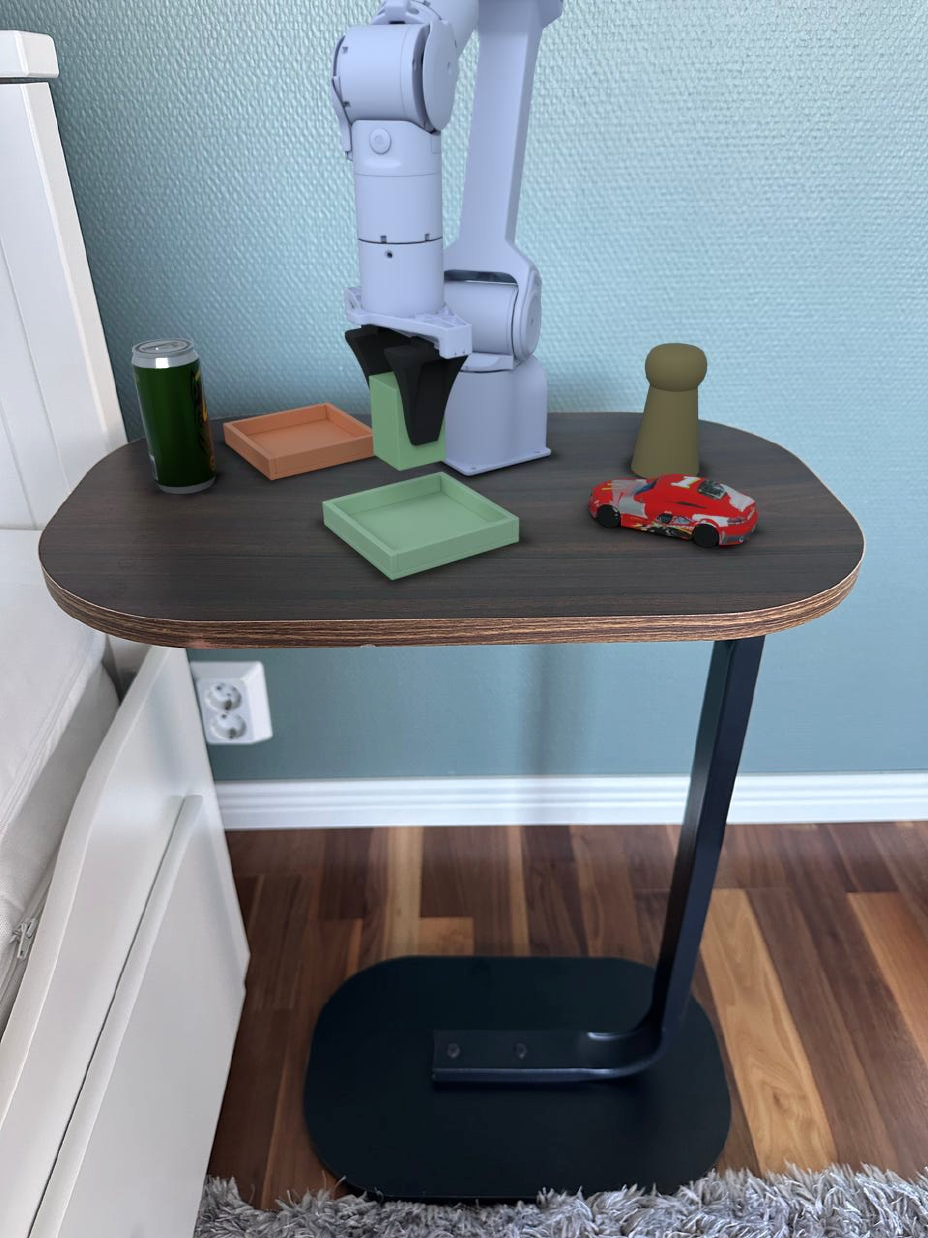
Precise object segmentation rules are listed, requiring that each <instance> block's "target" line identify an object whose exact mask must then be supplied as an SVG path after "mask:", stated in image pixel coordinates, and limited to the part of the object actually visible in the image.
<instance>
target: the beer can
mask: <svg viewBox="0 0 928 1238" xmlns="http://www.w3.org/2000/svg"><path fill="white" fill-rule="evenodd" d="M131 352H132V357H131V361H130V362H131V367H132V373H133V378H134V384H135V387H136V388H135V389H136V393H137V399H138V404H139V409H140V414H141V420H142V425H143V429H144V435H145V441H146V445H147V451H148V456H149V460H150V465H151V471H152V476H153V479H154V480H153V481H154V482H155V484H156V485H157V487H158V488H159V490H161V491H162V492H164V493H168V494H174V495H187V494H193V493H198V492H202V491H205V490H207V489H208V488H210V487H211V486H213V485H214V483H215V480H216V477H217V474H218V469H217V462H216V457H215V449H214V444H213V438H212V437H213V436H212V430H211V425H210V417H209V412H208V411H209V410H208V405H207V404H208V403H207V399H206V393H205V386H204V380H203V373H202V367H201V366H202V365H201V361H200V355H199V354H198V352H197V351H196V349H195V343H194V342H193V341H192V340H189V339H186V338H185V339H184V338H174V337H173V338H172V337H171V338H157V339H151V340H145V341H143V342H139V343H137V344H135V345H133V346H132V348H131Z"/></svg>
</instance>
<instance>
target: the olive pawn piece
mask: <svg viewBox="0 0 928 1238" xmlns="http://www.w3.org/2000/svg"><path fill="white" fill-rule="evenodd" d="M644 372H645V379H646V380H647V382H648V383H649V385H648V390H647V393H646V399H645V403H644V407H643V411H642V416H641V420H640V425H639V429H638V432H637V438H636V441H635V447H634V451H633V455H632V459H631V465H630V468H631V471H632V472H633V473H634V474H635V475H637V476H639V477H641V478H642V479H652V478H656V477H660V476H661V475H668V474H685V475H691V476H696V477H698V474H699V473H700V443H699V442H700V441H699V438H700V437H699V430H700V429H699V386H700V385H701V384H702V383H703V381H704V380H705V378H706V375H707V374H708V373H707V372H708V358H707V356H706V354H705V351H704V350H702V349H701V348H700V347H699V346H697V345H694V344H689V343H685V342H684V343H683V342H669V343H661V344H658V345H656V346H654V347H652V348H651V350H649V352H648V354H647V355H646V358H645V361H644Z"/></svg>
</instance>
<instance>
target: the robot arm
mask: <svg viewBox="0 0 928 1238" xmlns="http://www.w3.org/2000/svg"><path fill="white" fill-rule="evenodd" d="M564 2H565V0H383V1H382V3H380V6H379V7H378V9H377V11H376V12H375V14H374V15H373V17H372V19H370V22H369V23H368V24H354V25H352V26H350V28H349V29H348V30H347V32H346V33H345V34H343V35H341V36H339V37H338V39H337V41H336V42H335V44H334V47H333V50H332V55H331V67H330V77H329V79H328V81H329V90H330V97H331V102H332V105H333V108H334V109H333V110H334V112H335V115H336V117H337V121H338V123H339V126H340V130H341V138H342V139H341V141H342V151H343V152H344V156H345V159H346V160H347V161H350V162H351V163H352V174H353V176H352V177H353V191H354V209H355V223H356V225H355V226H356V237H357V253H358V254H357V255H358V267H359V268H358V269H359V283H360V285H355V286H354V285H353V286H348V287H343V298H344V313H345V315H346V319H347V321H348V322H350V323H352V324H353V325H357V326H360V327H358V328H357V327H356V328H352V329H351V328H350V329H348V330H346V331H344V340H345V342H346V343H347V345H348V347H349V348H350V349H351V351H352V352H353V354H354V357H355V358H356V360H357V362H358V364H359V366H360V368H361V371H362V374H363V376H364V378H365V381H366V384H367V387H368V390H369V392H370V385H369V376H373V375H378V374H383V373H388V372H393V373H394V375H395V378H396V380H397V384H398V387H399V390H400V394H401V399H402V404H403V412H404V419H405V425H406V430H407V434H408V437H409V440H410V443H411V444H412V445H414V446H418V445H422V444H426V443H430V442H435V441H438V439H439V435H440V431H441V427H442V423H443V418H444V414H445V437H446V460H442V461H441V462H442V463H444V464H446V465H447V466H448V467H451V468H452V469H454V470H456V471H458V472H459V473H461V474H463V475H464V476H466V477H467V476H468V477H470V476H475V475H478V474H483V473H486V472H490V471H493V470H497V469H502V468H506V467H509V466H513V465H518V464H521V463H525V462H528V461H533V460H536V459H540V458H545V457H548V456H551V454H552V449H550V448H549V447H548V446H547V430H548V401H549V385H548V379H547V374H546V370H545V368H544V366H543V364H542V362H541V361H540V360H539V358H538V357H537V356H535V354H534V353H535V351H536V349H537V348H538V347H537V346H538V345H539V344H538V343H539V339H540V335H541V329H542V316H543V315H542V313H543V312H542V289H543V280H542V277H541V273H540V270H539V268H538V267H537V265H536V264H535V262H534V261H533V260H531V258H530V257H528V256H527V255H526V254H525V253H524V252H523V251H522V250H521V249H520V248H519V247H518V246H517V245H516V244H515V240H516V233H517V223H518V215H519V206H520V198H521V191H522V190H521V189H522V183H523V182H522V181H523V172H524V165H525V164H524V163H525V156H526V149H527V148H526V147H527V137H528V131H529V122H530V113H531V105H532V96H533V87H534V78H535V73H536V72H535V71H536V63H537V59H538V54H539V49H540V46H541V45H540V44H541V41H542V40H541V39H542V35H543V30H544V29H545V28H546V27H547V28H548V26H549V25H550V24H552V23H553V22H555V21H556V20H557V19H559V18H561V17H562V15H563V11H564ZM474 30H475V31H476V34H477V37H478V39H479V43H478V45H479V46H478V55H477V63H476V73H475V81H474V92H473V100H472V111H471V117H470V118H471V119H470V129H469V136H468V146H467V157H466V165H465V173H464V181H463V182H464V183H463V193H462V200H461V201H462V202H461V211H460V219H459V220H460V221H459V230H458V236H457V238H456V239H455V240H454V241H452V242H451V243H450V244H448V245H447V246H446V247H444V216H443V215H444V211H443V207H444V206H443V159H442V158H443V157H442V152H443V151H442V150H443V149H442V131H444V129H445V128H446V127H447V126H448V124H449V123H450V122H451V120H452V116H453V110H454V105H455V95H456V88H457V84H458V81H459V75H460V67H459V59H460V58H461V55H462V54H463V52H464V50H465V48H466V46H467V44H468V42H469V40H470V39H471V37H472V34H473V32H474Z"/></svg>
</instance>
